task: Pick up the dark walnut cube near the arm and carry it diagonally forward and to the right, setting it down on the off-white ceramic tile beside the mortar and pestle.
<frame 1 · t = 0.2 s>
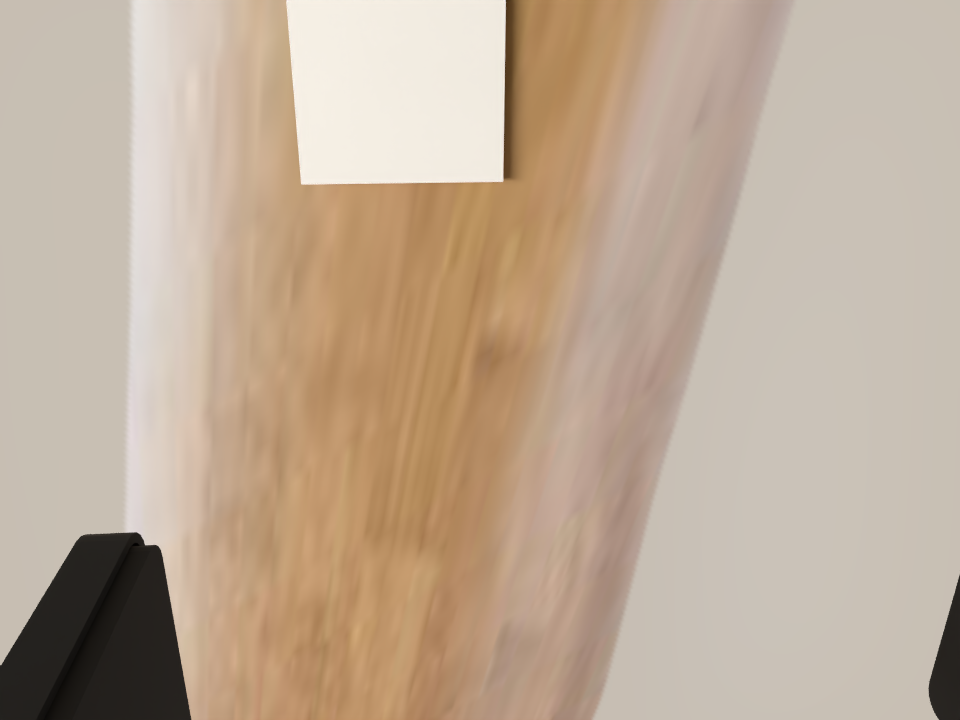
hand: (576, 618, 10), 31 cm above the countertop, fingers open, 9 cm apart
tile pad: (399, 76, 36), on the countertop
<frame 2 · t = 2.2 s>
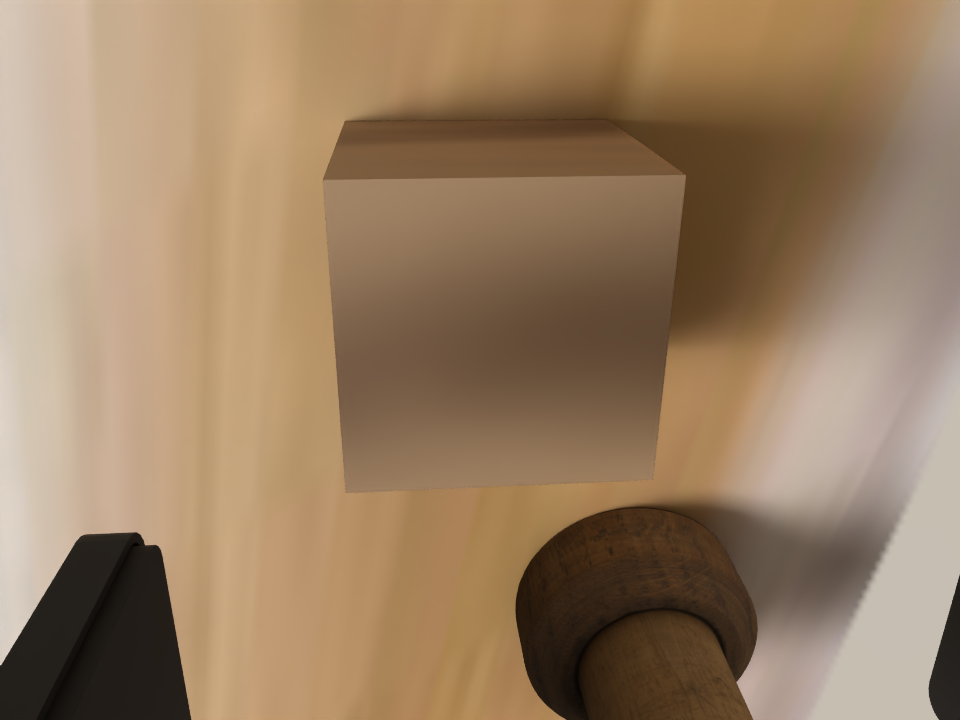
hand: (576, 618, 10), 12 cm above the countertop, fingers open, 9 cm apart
walnut cube: (476, 246, 20), on the countertop
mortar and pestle: (621, 590, 26), on the countertop
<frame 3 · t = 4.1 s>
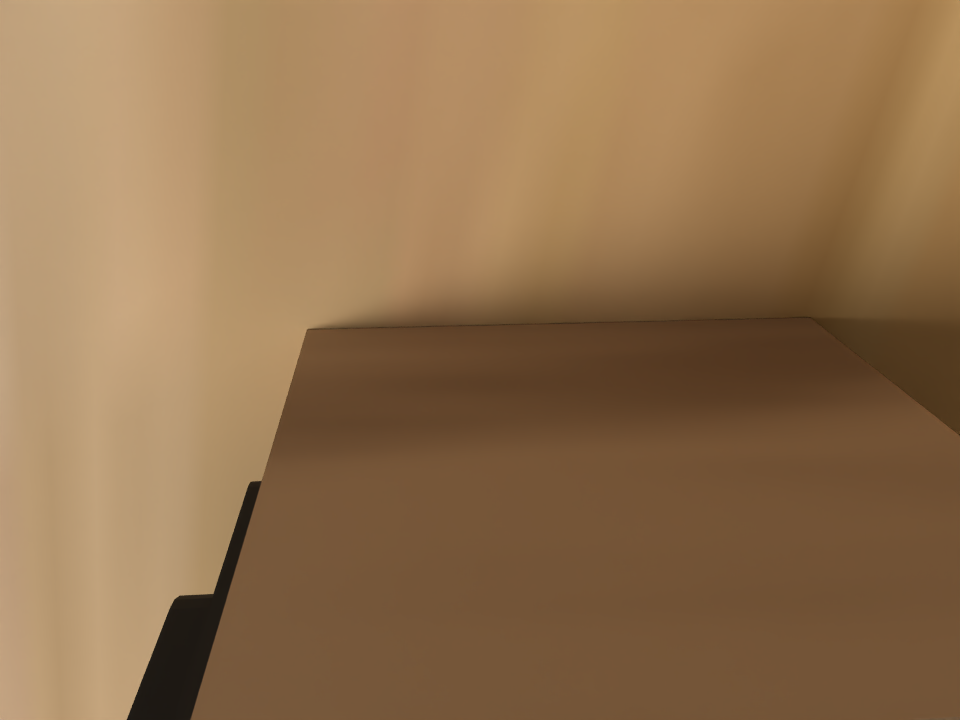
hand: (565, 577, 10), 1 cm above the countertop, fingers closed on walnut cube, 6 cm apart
walnut cube: (554, 535, 11), on the countertop, touching gripper
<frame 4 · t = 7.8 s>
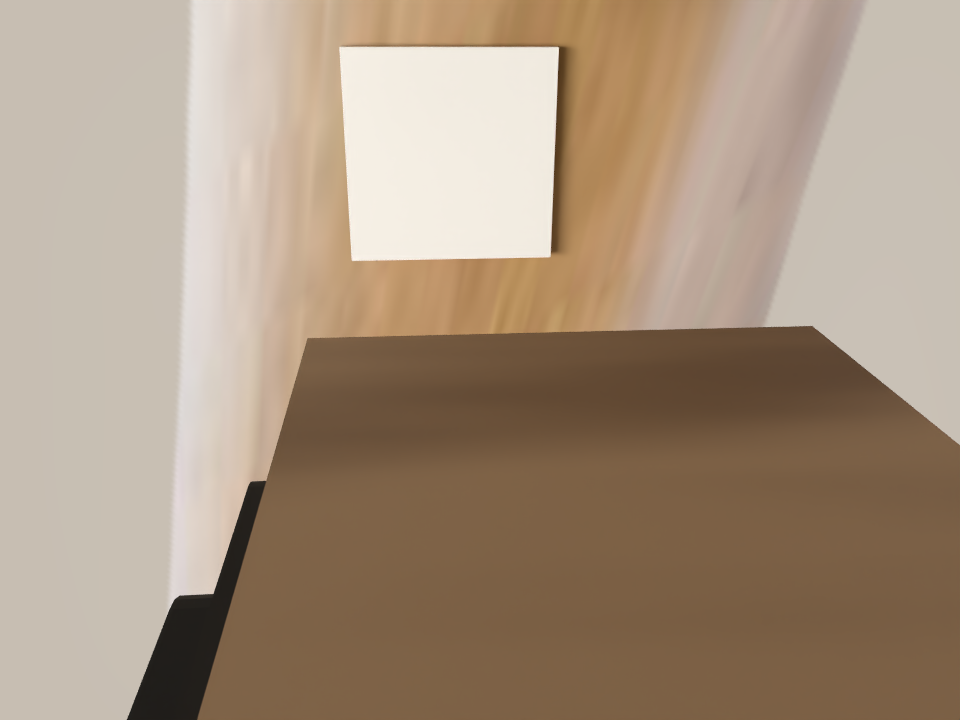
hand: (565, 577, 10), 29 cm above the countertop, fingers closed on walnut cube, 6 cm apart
walnut cube: (555, 544, 11), point 28 cm above the countertop, touching gripper
tile pad: (450, 155, 37), on the countertop
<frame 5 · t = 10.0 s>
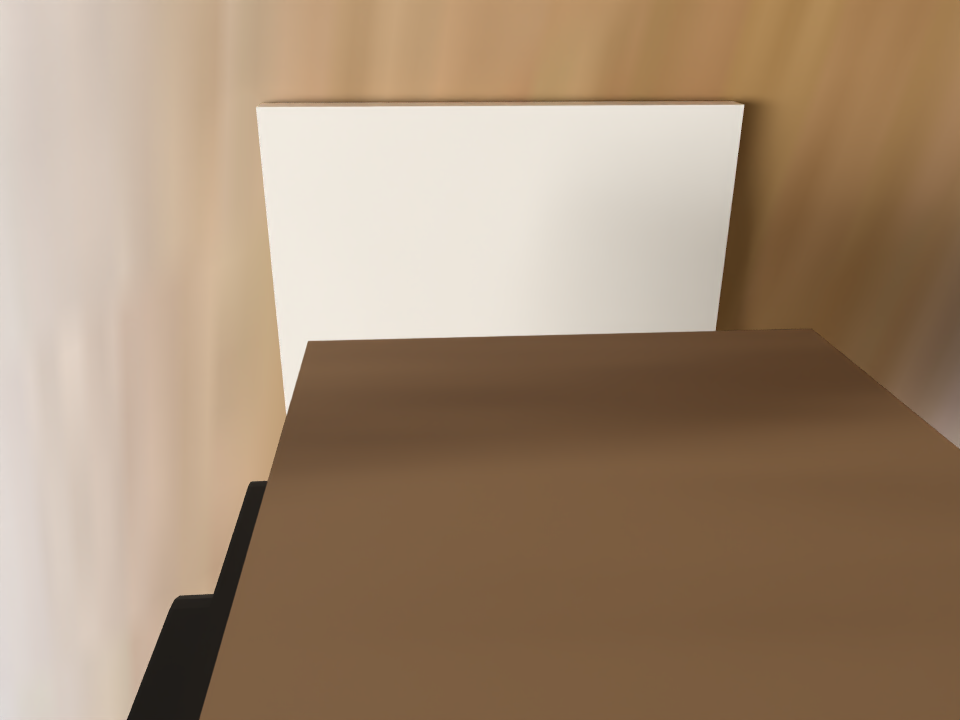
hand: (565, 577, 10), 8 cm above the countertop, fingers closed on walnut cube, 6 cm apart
walnut cube: (555, 545, 11), point 7 cm above the countertop, touching gripper
tile pad: (498, 322, 18), on the countertop
when the fingers open (2 cm above the countertop, at t = 11.7 s): walnut cube drops 1 cm, resting on tile pad.
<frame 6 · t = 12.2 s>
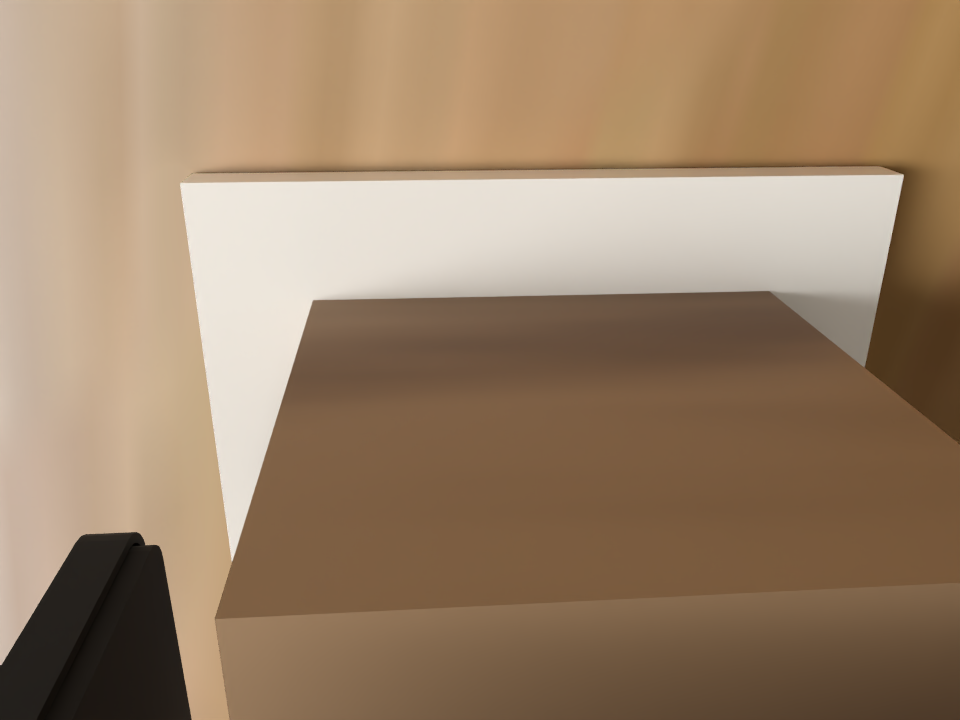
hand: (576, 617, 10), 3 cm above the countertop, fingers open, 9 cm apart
walnut cube: (538, 492, 12), point 1 cm above the countertop, touching tile pad
tile pad: (535, 470, 13), on the countertop
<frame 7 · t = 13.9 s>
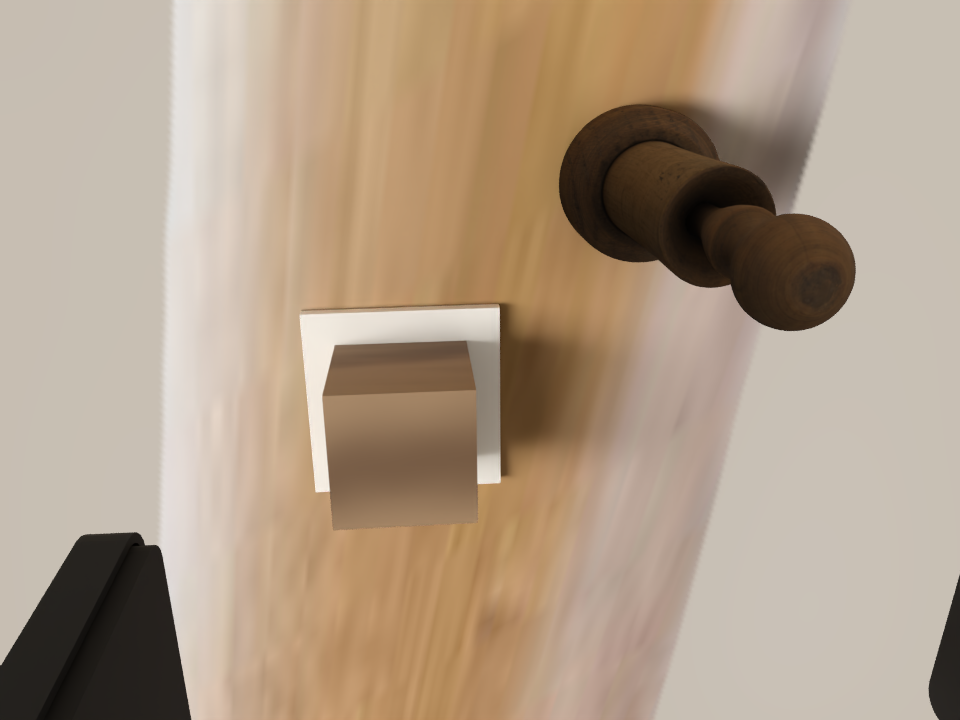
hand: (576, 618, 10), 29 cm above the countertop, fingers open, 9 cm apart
walnut cube: (403, 403, 39), point 1 cm above the countertop, touching tile pad
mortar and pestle: (631, 179, 37), on the countertop
tile pad: (404, 397, 40), on the countertop
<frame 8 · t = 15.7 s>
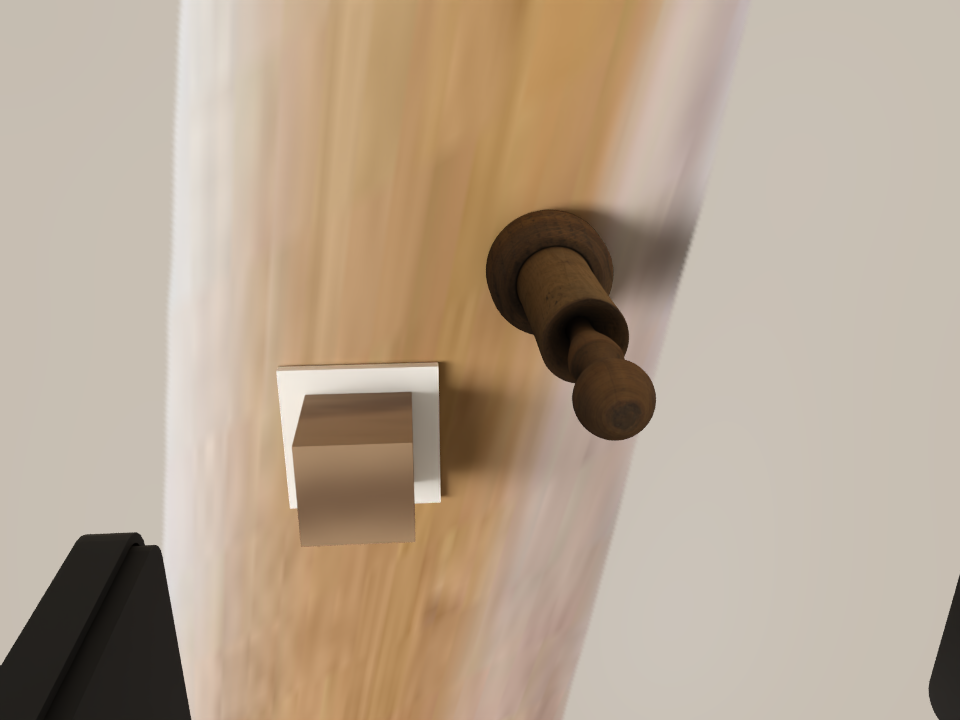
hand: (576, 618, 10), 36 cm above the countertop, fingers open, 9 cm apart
walnut cube: (361, 439, 49), point 1 cm above the countertop, touching tile pad
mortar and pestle: (545, 266, 46), on the countertop
tile pad: (362, 434, 49), on the countertop
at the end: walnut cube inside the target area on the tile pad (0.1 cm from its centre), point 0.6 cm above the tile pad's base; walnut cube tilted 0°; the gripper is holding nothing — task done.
